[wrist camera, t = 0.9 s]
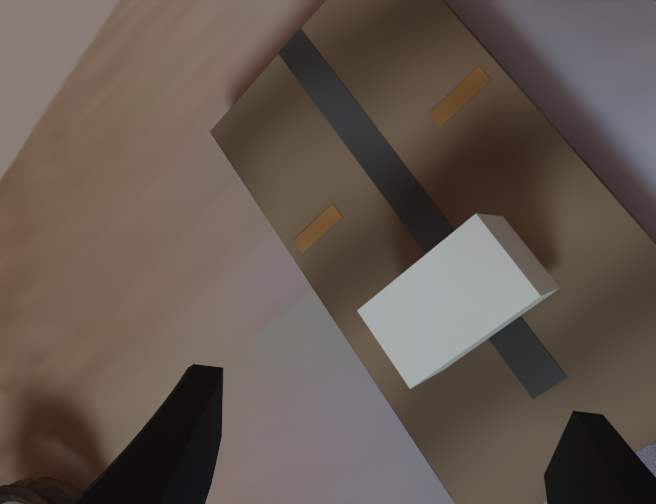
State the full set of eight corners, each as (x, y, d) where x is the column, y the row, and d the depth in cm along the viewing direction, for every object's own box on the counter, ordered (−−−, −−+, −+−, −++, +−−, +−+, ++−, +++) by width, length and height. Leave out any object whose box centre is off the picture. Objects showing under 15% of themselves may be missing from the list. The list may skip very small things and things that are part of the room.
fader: (561, 287, 21) (540, 296, 18) (447, 367, 23) (410, 388, 20) (505, 216, 22) (475, 213, 18) (400, 300, 24) (356, 310, 20)
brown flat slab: (764, 365, 20) (772, 378, 18) (492, 516, 24) (477, 538, 23) (403, -46, 26) (383, -67, 24) (237, 137, 30) (209, 131, 28)
